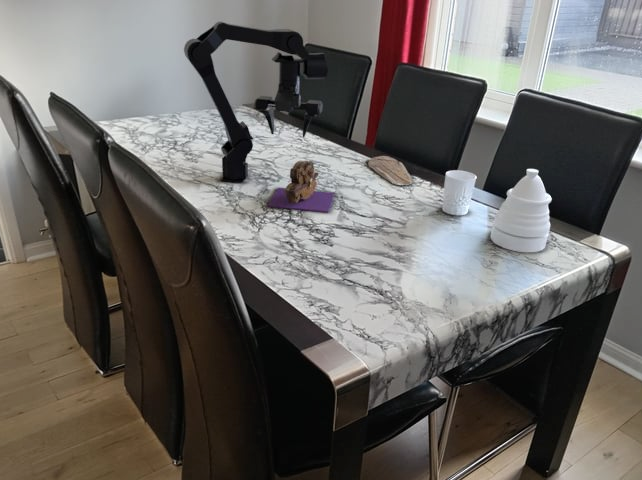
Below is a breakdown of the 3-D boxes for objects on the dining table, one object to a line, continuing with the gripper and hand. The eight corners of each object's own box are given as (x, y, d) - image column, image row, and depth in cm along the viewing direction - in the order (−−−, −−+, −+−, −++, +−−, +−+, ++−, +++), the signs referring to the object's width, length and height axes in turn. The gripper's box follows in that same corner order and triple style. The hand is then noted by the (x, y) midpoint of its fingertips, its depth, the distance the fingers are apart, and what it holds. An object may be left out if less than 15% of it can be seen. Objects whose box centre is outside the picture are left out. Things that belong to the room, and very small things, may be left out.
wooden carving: (300, 210, 148) (301, 172, 143) (283, 207, 149) (284, 170, 144) (320, 190, 162) (322, 155, 157) (305, 188, 163) (306, 153, 158)
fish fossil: (424, 184, 172) (424, 180, 172) (393, 188, 170) (393, 185, 169) (389, 157, 193) (389, 153, 192) (360, 160, 190) (361, 157, 190)
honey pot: (538, 257, 131) (557, 181, 123) (483, 242, 137) (498, 169, 128) (550, 238, 141) (570, 167, 132) (499, 225, 147) (514, 156, 138)
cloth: (267, 206, 150) (267, 205, 150) (278, 189, 162) (278, 187, 162) (328, 212, 149) (328, 211, 149) (334, 194, 161) (334, 192, 161)
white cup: (471, 208, 157) (477, 172, 152) (467, 218, 150) (474, 181, 145) (442, 203, 159) (447, 168, 154) (437, 213, 152) (443, 177, 147)
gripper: (249, 81, 154) (249, 139, 161) (317, 87, 152) (315, 145, 159) (259, 74, 163) (259, 130, 171) (324, 80, 161) (321, 135, 169)
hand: (288, 135), depth 167 cm, fingers open, 9 cm apart
